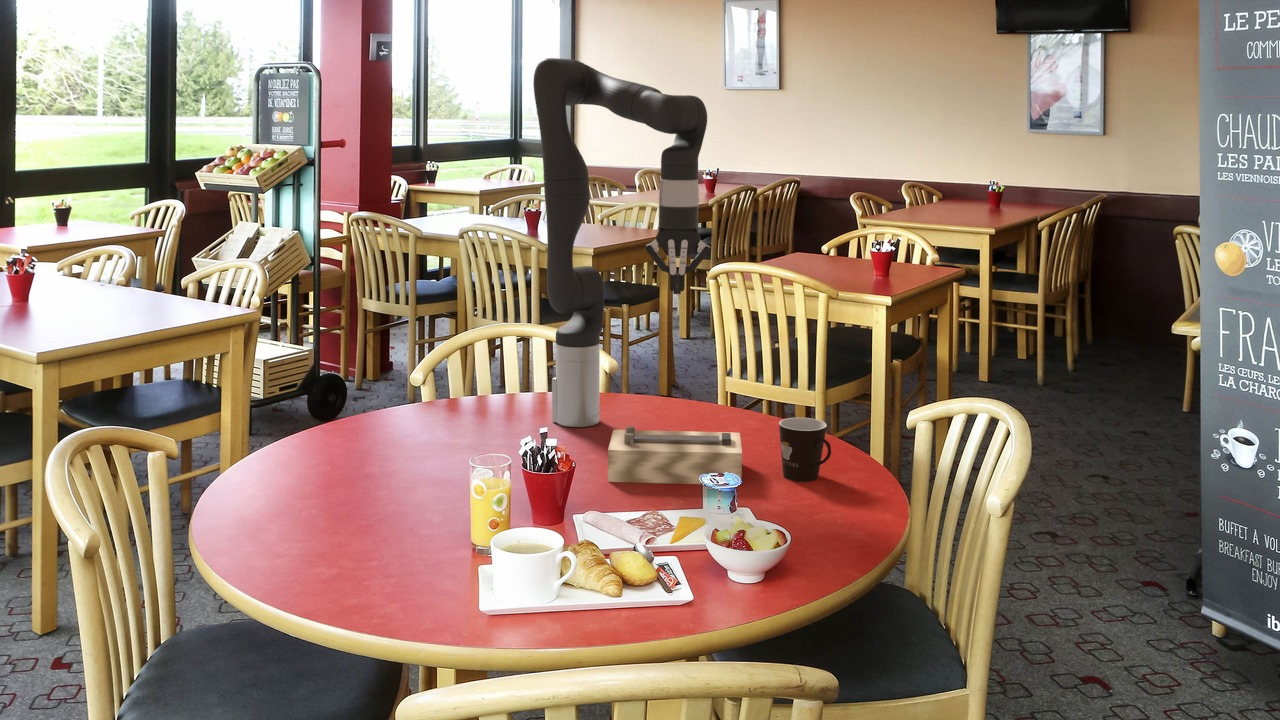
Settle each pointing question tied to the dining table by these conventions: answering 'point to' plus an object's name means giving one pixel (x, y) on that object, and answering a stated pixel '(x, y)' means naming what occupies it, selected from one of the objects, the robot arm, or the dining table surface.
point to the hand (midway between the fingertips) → (677, 293)
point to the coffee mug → (802, 448)
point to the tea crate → (671, 457)
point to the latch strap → (676, 438)
